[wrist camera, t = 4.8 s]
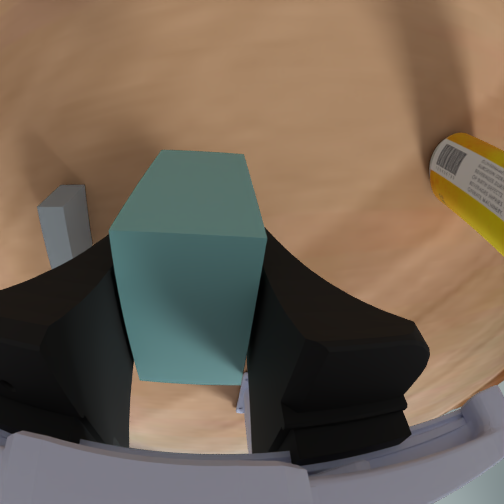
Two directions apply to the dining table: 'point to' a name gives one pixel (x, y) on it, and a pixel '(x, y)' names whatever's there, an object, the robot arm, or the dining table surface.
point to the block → (190, 267)
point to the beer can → (471, 183)
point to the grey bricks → (65, 223)
